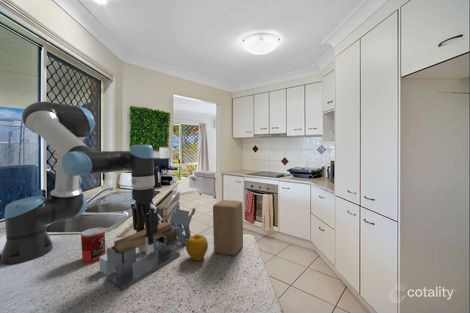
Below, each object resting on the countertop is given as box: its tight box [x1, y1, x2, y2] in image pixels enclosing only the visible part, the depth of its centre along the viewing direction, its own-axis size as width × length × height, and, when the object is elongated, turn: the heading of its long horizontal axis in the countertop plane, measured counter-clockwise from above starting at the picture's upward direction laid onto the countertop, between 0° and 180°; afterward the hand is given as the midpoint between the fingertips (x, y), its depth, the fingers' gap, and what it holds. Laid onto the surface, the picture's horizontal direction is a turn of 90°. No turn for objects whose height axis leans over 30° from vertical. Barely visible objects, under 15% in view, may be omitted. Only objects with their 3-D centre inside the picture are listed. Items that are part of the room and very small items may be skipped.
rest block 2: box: [141, 242, 158, 253], centre depth 85 cm, size 5×4×5 cm
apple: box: [185, 234, 209, 261], centre depth 78 cm, size 8×8×9 cm
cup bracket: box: [105, 228, 181, 291], centre depth 73 cm, size 10×23×11 cm, turn 148°
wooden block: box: [212, 199, 244, 257], centre depth 85 cm, size 10×10×20 cm
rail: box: [113, 221, 171, 253], centre depth 73 cm, size 4×20×4 cm, turn 148°
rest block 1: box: [98, 253, 116, 276], centre depth 72 cm, size 5×4×5 cm
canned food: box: [80, 227, 107, 264], centre depth 80 cm, size 8×8×11 cm
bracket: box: [169, 204, 197, 246], centre depth 94 cm, size 13×10×15 cm
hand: (146, 251), depth 73 cm, fingers closed on rail, 4 cm apart
